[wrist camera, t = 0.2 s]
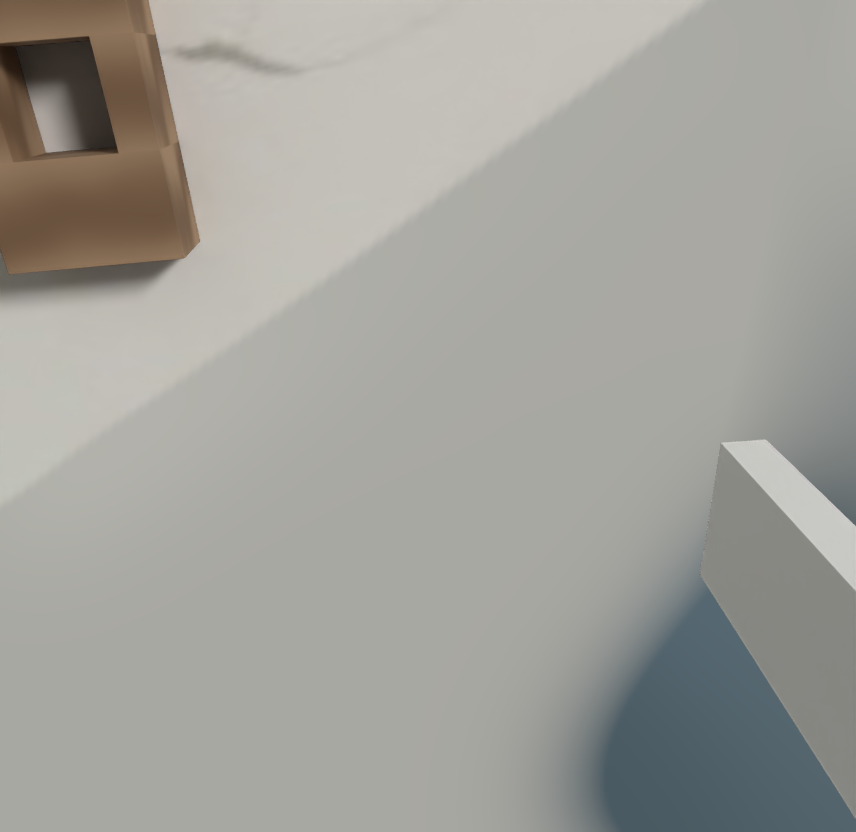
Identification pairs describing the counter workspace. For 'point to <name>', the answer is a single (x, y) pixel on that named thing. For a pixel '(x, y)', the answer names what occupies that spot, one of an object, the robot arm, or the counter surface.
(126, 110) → the hole block
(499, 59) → the counter surface
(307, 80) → the counter surface
